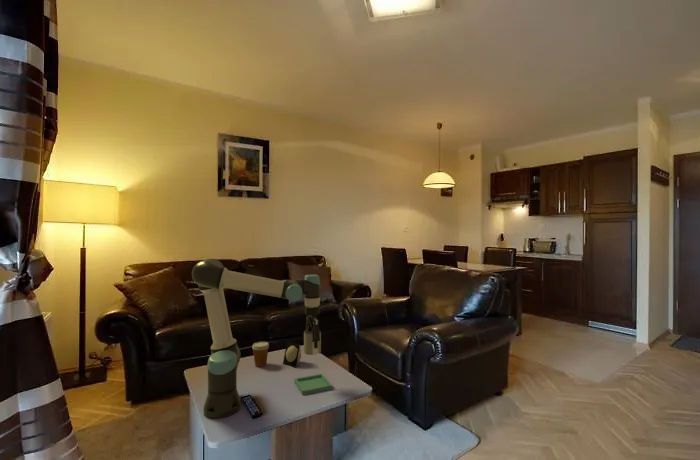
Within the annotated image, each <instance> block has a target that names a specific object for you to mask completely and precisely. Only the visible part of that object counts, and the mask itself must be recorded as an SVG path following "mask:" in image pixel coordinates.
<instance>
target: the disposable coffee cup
mask: <svg viewBox="0 0 700 460" xmlns="http://www.w3.org/2000/svg"><path fill="white" fill-rule="evenodd" d="M251 348H252V351H253V359H254V366H255V367H256V368H262V367H265V366H267V362H268V355H269V354H268V353H269V348H270V344H269V342H267V341H258V342H254V343H253V344H252V346H251Z"/></svg>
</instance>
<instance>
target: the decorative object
mask: <svg viewBox="0 0 700 460" xmlns="http://www.w3.org/2000/svg"><path fill="white" fill-rule="evenodd" d="M301 348H302V347H301V344H300V343H295V342H293V341H292V342H291V341H286V345H285V350H284V355H283V362H282V365H285V366H288V367H292V368H297V364H298V363H299V362H300V361H301V359H302V349H301Z"/></svg>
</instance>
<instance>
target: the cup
mask: <svg viewBox="0 0 700 460" xmlns="http://www.w3.org/2000/svg"><path fill="white" fill-rule="evenodd" d="M319 333H320V341H318V354H317V355H319V354H321V352H322V331H321V330H320V329H319ZM312 340H313V334H312V331H309V332H308V330H306V329H305V330H304V331H303V353H304V354H305V355H309V356H314V355H313V351H312Z"/></svg>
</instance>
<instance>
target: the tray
mask: <svg viewBox="0 0 700 460" xmlns="http://www.w3.org/2000/svg"><path fill="white" fill-rule="evenodd" d="M293 382H294V384H295V385H296V388H297V389H298V390H299V392H300V394H301V395H302V396H304V395H308V394H313V393H319V392H323V391H329V390H332V389H333V384H332V383H331V382H330V381H329V380H328V378H327V377H325V375H324V374H323V373H318V374H312V375H306V376H300V377H296V378H294V379H293Z"/></svg>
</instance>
